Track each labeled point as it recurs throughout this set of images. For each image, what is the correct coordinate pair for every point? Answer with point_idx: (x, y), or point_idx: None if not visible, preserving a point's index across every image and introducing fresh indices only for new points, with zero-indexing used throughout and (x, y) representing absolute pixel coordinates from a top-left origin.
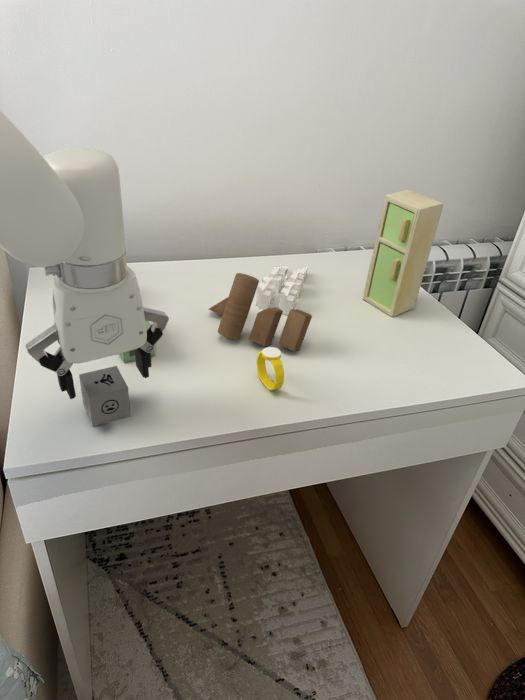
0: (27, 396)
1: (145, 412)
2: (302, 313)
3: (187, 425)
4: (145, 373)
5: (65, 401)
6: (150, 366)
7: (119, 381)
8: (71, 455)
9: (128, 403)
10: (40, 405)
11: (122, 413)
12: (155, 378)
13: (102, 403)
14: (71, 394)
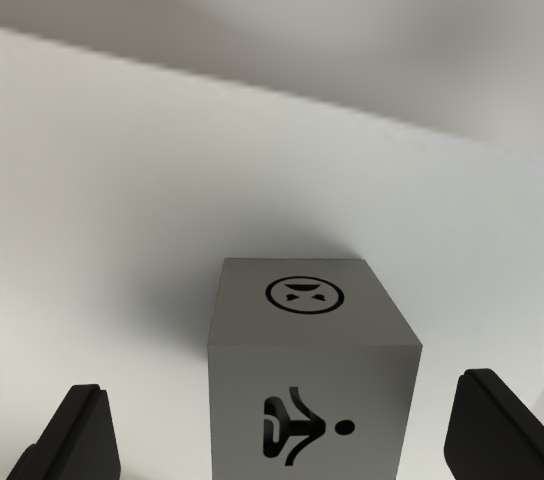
0: None
1: (164, 254)
2: None
3: (11, 112)
4: (79, 406)
5: None
6: (33, 447)
7: (235, 400)
8: (486, 150)
9: (221, 289)
10: None
11: (252, 268)
12: None
13: (342, 309)
14: (501, 387)
